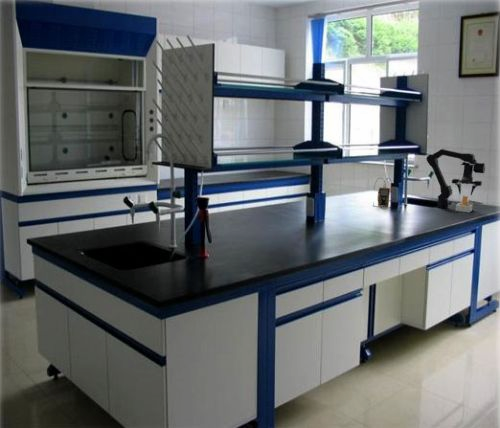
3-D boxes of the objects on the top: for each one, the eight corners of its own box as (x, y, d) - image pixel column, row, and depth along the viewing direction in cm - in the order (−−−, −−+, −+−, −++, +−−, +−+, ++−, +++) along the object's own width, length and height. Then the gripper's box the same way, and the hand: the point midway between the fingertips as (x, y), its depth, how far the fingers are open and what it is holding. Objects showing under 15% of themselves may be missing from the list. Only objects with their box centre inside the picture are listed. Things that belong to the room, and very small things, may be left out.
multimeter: (371, 207, 387) (373, 178, 383) (372, 205, 396) (374, 177, 392) (393, 209, 383) (395, 180, 379) (394, 206, 392) (396, 178, 388)
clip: (480, 206, 378) (481, 202, 377) (467, 203, 388) (467, 200, 387) (482, 206, 379) (482, 202, 378) (469, 203, 388) (469, 199, 388)
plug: (458, 208, 384) (459, 196, 382) (460, 207, 389) (461, 195, 387) (467, 210, 381) (469, 197, 379) (469, 208, 386) (470, 196, 384)
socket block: (455, 210, 383) (456, 205, 383) (458, 208, 392) (458, 202, 391) (469, 212, 379) (470, 206, 378) (471, 210, 387) (472, 204, 387)
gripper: (451, 171, 378) (449, 194, 381) (480, 174, 369) (478, 197, 372) (454, 170, 387) (452, 192, 390) (483, 172, 378) (480, 195, 381)
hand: (465, 194), depth 383 cm, fingers open, 7 cm apart
